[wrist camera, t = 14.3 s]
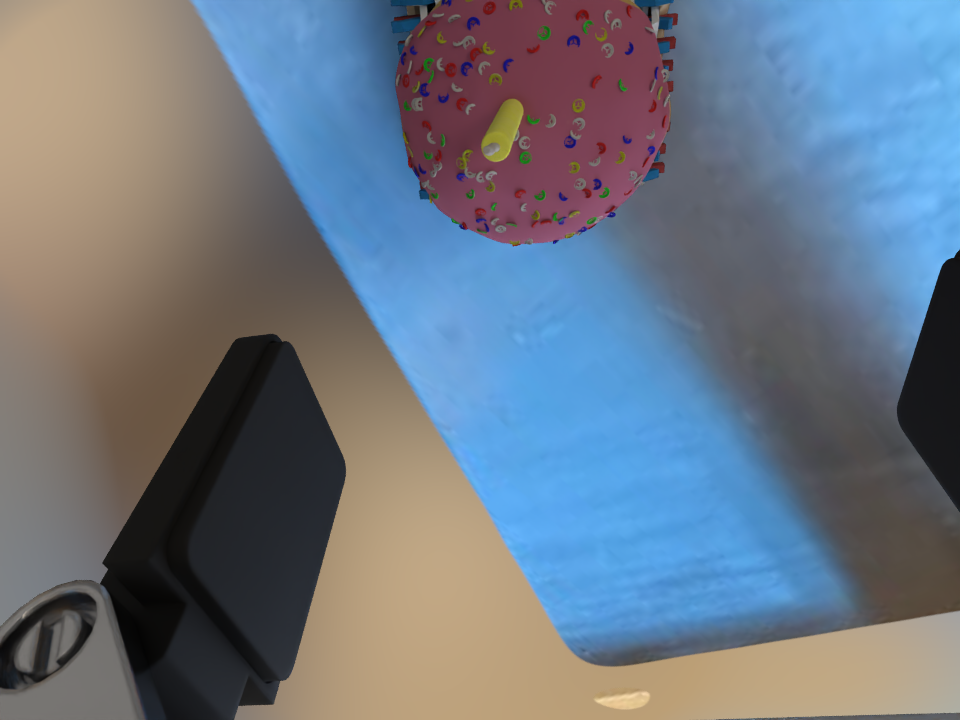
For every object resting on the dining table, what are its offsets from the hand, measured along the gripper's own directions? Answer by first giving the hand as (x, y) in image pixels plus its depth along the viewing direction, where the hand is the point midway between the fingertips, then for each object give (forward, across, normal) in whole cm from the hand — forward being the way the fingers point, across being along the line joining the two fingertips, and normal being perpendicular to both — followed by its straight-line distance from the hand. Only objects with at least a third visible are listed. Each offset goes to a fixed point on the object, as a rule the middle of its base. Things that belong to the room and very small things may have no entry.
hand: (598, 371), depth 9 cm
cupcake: (+18, +1, 0) cm, 18 cm away
